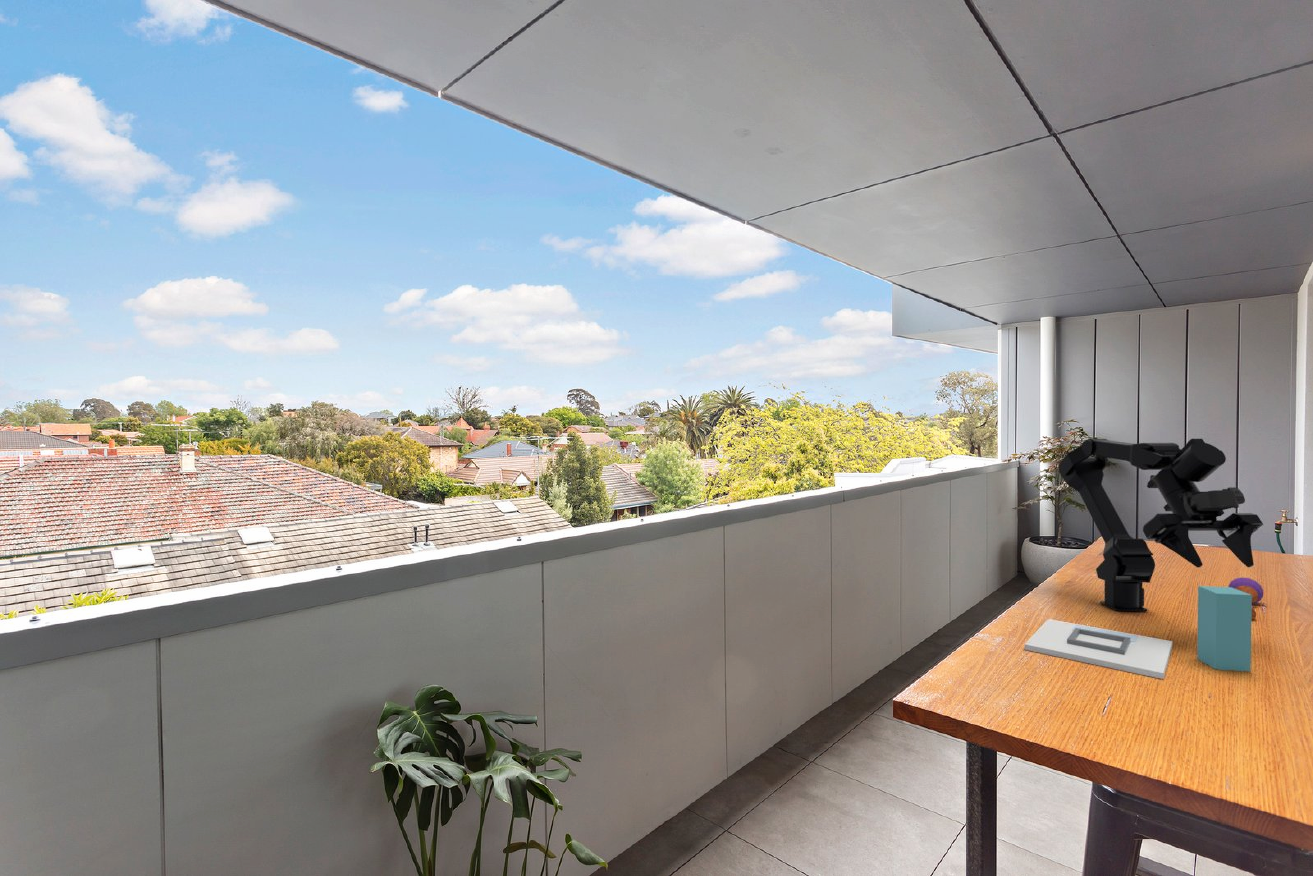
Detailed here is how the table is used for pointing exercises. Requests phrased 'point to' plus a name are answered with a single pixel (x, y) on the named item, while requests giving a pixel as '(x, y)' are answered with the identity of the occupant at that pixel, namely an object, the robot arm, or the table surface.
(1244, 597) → the column
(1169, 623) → the table surface
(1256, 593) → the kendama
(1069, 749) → the table surface
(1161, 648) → the board
